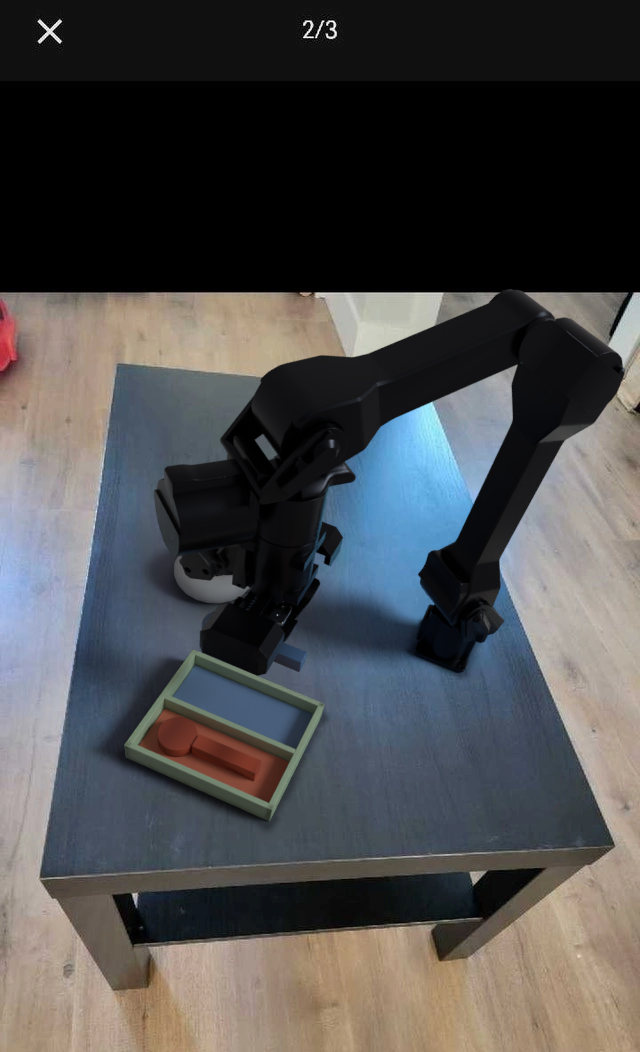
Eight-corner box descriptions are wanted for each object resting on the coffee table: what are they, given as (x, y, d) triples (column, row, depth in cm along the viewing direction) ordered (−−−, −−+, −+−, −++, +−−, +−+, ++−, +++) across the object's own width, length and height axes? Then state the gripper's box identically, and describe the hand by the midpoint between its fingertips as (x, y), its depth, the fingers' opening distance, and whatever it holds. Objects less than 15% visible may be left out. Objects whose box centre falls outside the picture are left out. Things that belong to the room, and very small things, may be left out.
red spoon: (265, 759, 70) (266, 751, 69) (248, 791, 68) (249, 783, 67) (170, 718, 72) (170, 710, 71) (150, 748, 69) (149, 739, 68)
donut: (269, 583, 88) (213, 542, 91) (272, 563, 86) (215, 522, 89) (213, 622, 83) (156, 577, 86) (215, 603, 80) (156, 557, 83)
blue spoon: (309, 653, 70) (312, 643, 69) (294, 681, 67) (296, 671, 66) (213, 613, 71) (213, 603, 70) (194, 639, 69) (194, 628, 67)
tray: (321, 716, 76) (324, 703, 74) (269, 821, 67) (272, 810, 65) (192, 662, 78) (192, 648, 76) (125, 757, 69) (123, 744, 67)
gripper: (247, 438, 64) (236, 562, 75) (139, 555, 52) (146, 680, 63) (358, 479, 62) (329, 599, 74) (273, 609, 50) (255, 728, 62)
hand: (267, 646), depth 68 cm, fingers closed on blue spoon, 2 cm apart
